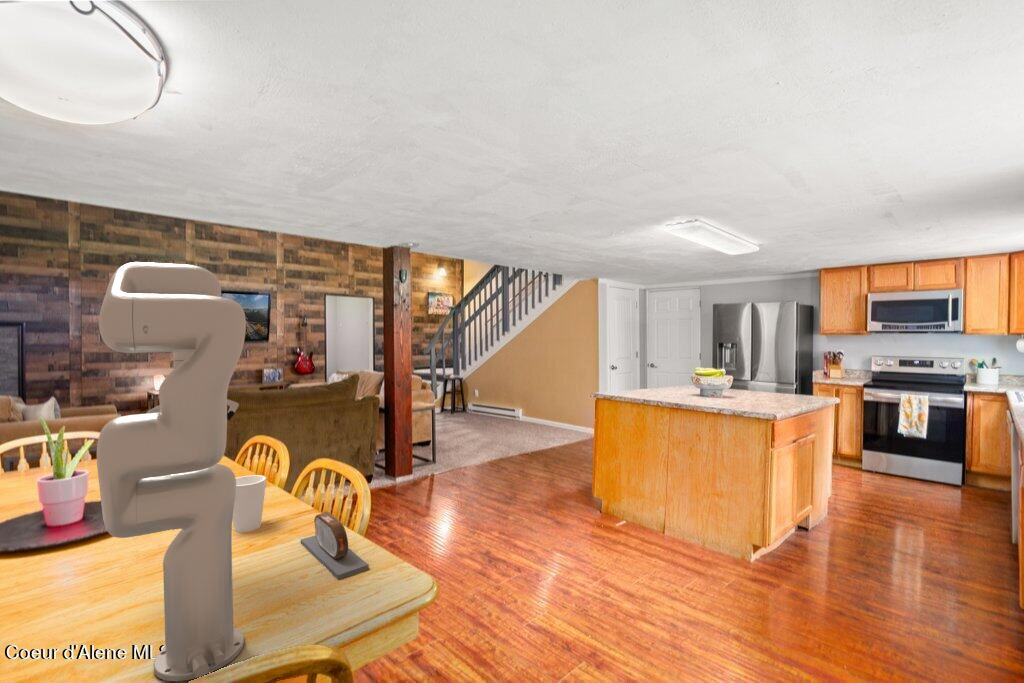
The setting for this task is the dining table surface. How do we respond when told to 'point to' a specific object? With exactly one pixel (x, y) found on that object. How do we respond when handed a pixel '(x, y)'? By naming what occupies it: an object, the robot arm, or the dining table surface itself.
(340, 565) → the charcoal mat
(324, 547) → the tin
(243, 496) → the foam cup
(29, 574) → the dining table surface
